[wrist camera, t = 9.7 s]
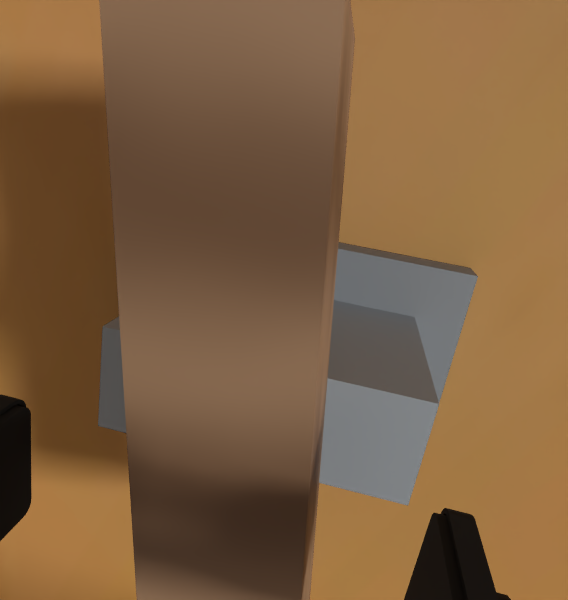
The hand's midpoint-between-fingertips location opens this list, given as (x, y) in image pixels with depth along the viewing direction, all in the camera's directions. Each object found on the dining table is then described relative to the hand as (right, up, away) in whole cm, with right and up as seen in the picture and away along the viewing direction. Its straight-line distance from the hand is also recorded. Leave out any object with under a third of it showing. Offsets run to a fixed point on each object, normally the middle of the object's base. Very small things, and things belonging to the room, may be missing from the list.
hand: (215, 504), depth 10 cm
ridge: (+2, +4, +12) cm, 13 cm away
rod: (+1, +1, +3) cm, 4 cm away
